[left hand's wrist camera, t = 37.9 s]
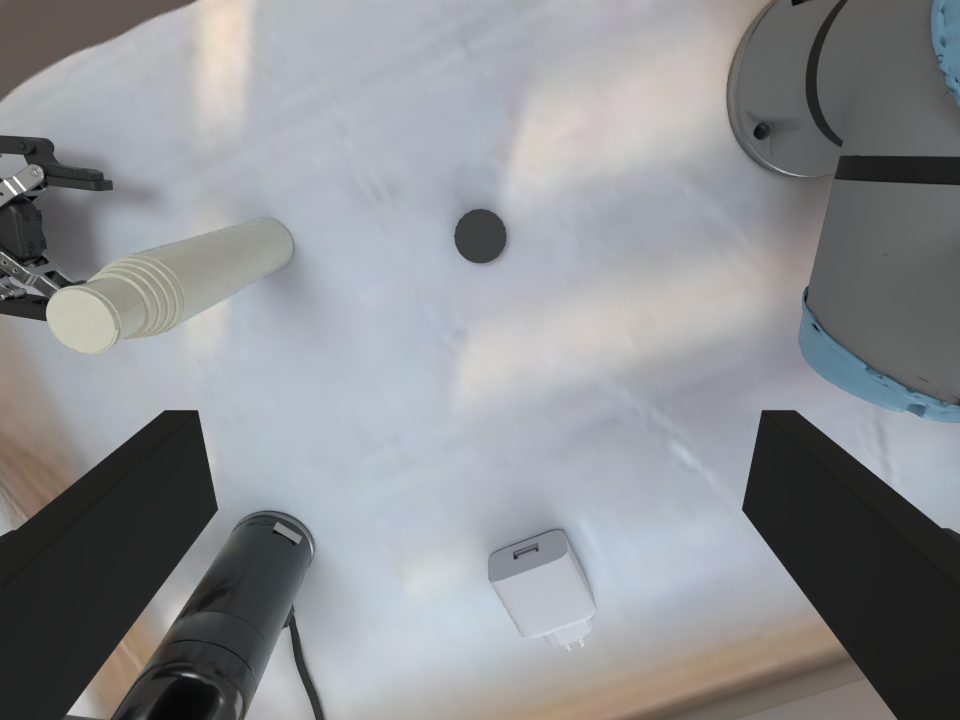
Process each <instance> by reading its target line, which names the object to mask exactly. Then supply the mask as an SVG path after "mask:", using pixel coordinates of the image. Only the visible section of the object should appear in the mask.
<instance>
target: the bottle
mask: <svg viewBox="0 0 960 720" xmlns="http://www.w3.org/2000/svg"><path fill="white" fill-rule="evenodd" d="M293 250H294V244H293V240H292V237H291V235H290V233H289V231H288V230H287V229H286V228H285V227H284V226H283V225H282V224H281V223H279V222H278V221H276V220H273V219H269V218H259V219H255V220H252V221H248V222H245V223H241V224H237V225H234V226H230V227H227V228H223V229H220V230H216V231H212V232H209V233H205V234H202V235H198V236H195V237H191V238H187V239H184V240H180V241H177V242H173V243H170V244H166V245H162V246H159V247H155V248H152V249H148V250H145V251H141V252H137V253H134V254H130V255H127V256H124V257H121V258H119V259H117V260H115V261H113V262H111V263H109V264H108V265H107V266H105V267H104V268H103V269H101V270H100V271H99V272H98V273H96V274H95V275H94V276H93V277H91V278H90V279H89V280H88V281H87V282H86V283H83V284H80V285H75V286H67V287H65V288H62V289H60V290H58V291H57V292H56V293H55V294H54V295H53V296H52V297H51V299H50V301H49V302H48V305H47V308H46V318H47V322H48V325H49V327H50V329H51V331H52V333H53V334H54V335H55V337H56V338H57V339H58V340H59V341H60V342H62V343H63V344H64V345H66V346H67V347H69V348H71V349H73V350H76V351H78V352H81V353H87V354H96V353H101V352H103V351H106V350H108V349H110V348H112V347H113V346H114V345H115V344H116V343H117V342H119V341H121V340H127V339H133V338H140V337H147V336H154V335H158V334H161V333H164V332H167V331H169V330H171V329H173V328H174V327H176V326H178V325H180V324H181V323H183V322H185V321H187V320H189V319H190V318H192V317H194V316H196V315H198V314H199V313H201V312H203V311H205V310H207V309H208V308H210V307H212V306H214V305H215V304H217V303H219V302H221V301H223V300H224V299H226V298H228V297H230V296H232V295H233V294H235V293H237V292H239V291H241V290H242V289H244V288H246V287H248V286H249V285H251V284H253V283H255V282H257V281H258V280H260V279H262V278H264V277H266V276H267V275H269V274H271V273H273V272H275V271H276V270H278V269H280V268H282V267H283V266H285V265H286V264H287V263H288V262H289V261H290V259H291V257H292V255H293Z"/></svg>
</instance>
